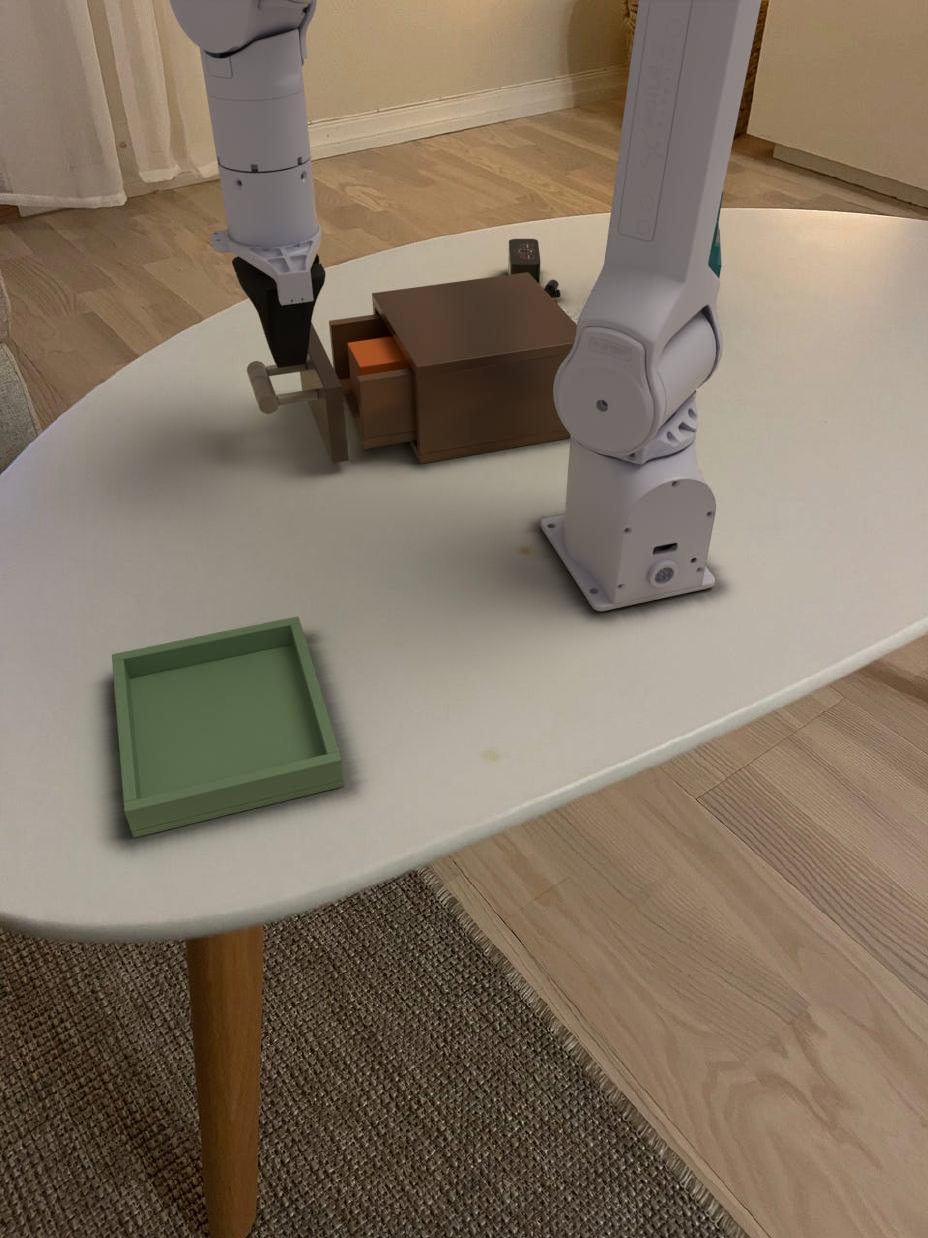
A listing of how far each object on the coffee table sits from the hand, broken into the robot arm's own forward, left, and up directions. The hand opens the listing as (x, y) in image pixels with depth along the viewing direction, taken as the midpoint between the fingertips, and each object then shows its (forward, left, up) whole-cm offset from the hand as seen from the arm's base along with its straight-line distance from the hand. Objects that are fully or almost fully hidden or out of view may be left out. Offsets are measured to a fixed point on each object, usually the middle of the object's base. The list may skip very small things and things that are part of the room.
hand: (290, 361), depth 71 cm
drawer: (0, -5, -5) cm, 7 cm away
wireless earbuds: (+20, -26, -6) cm, 33 cm away
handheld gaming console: (+10, -37, -6) cm, 39 cm away
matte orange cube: (0, -7, -4) cm, 8 cm away
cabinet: (0, -14, -6) cm, 15 cm away
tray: (-28, +9, -6) cm, 30 cm away
